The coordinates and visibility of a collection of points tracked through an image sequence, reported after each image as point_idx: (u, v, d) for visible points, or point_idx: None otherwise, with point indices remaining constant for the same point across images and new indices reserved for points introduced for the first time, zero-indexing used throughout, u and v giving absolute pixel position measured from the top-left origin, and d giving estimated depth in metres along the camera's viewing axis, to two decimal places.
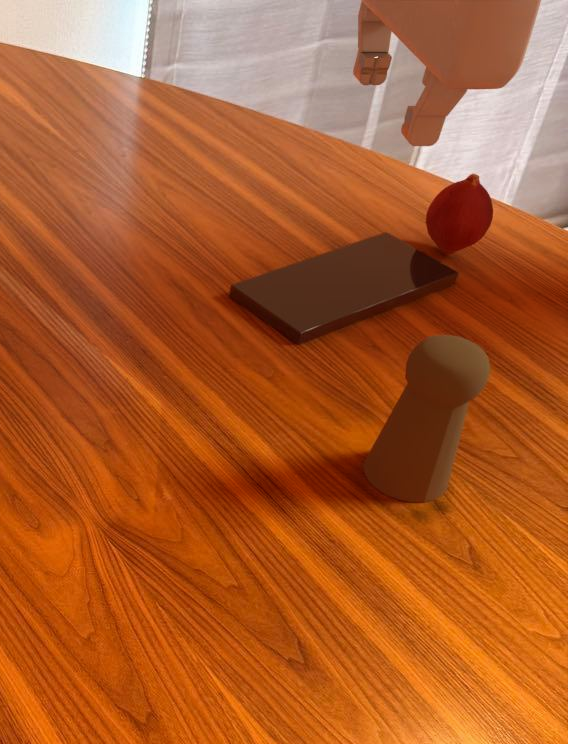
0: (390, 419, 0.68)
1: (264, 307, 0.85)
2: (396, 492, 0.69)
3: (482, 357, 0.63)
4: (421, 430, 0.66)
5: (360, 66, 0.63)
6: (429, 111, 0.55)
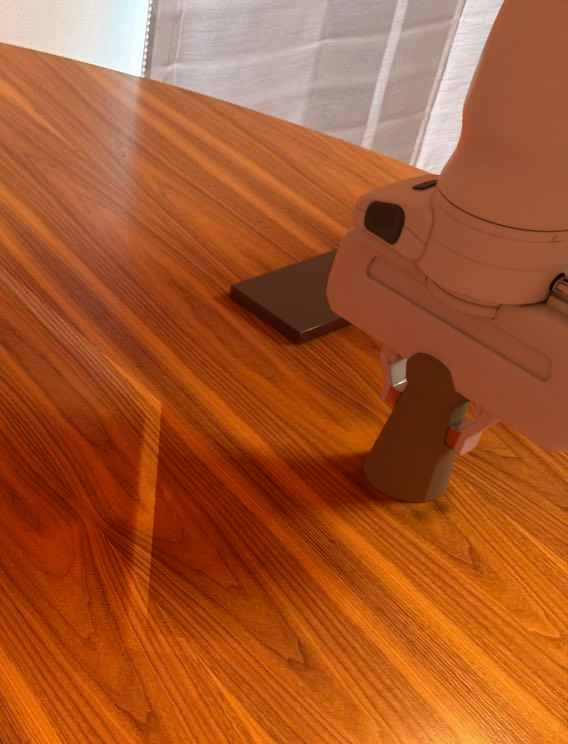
0: (390, 419, 0.68)
1: (264, 307, 0.85)
2: (396, 492, 0.69)
3: None
4: (421, 430, 0.66)
5: (393, 397, 0.68)
6: (477, 432, 0.64)
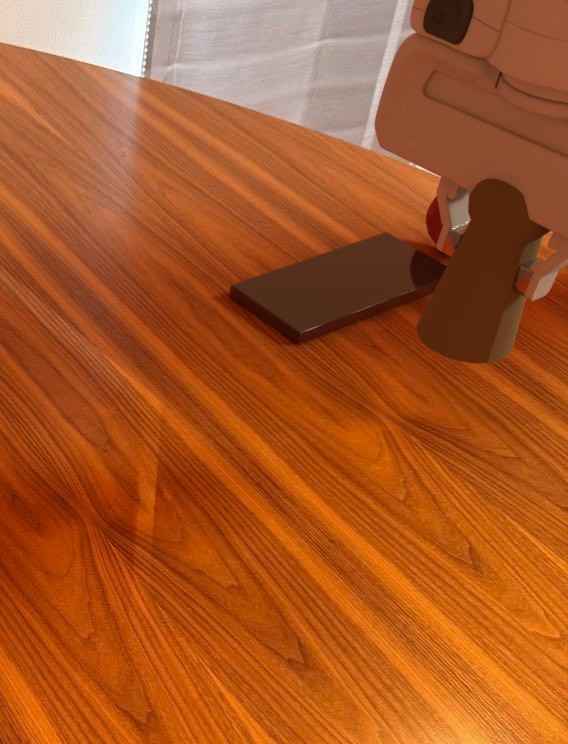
0: (449, 267, 0.60)
1: (264, 307, 0.85)
2: (456, 352, 0.61)
3: None
4: (486, 273, 0.58)
5: (452, 242, 0.60)
6: (553, 270, 0.56)
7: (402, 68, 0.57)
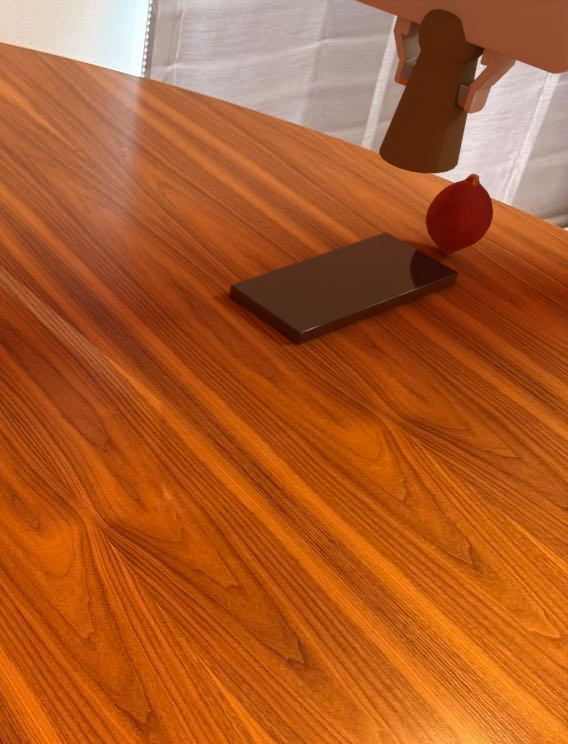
0: (404, 92, 0.74)
1: (264, 307, 0.85)
2: (410, 164, 0.75)
3: None
4: (433, 92, 0.71)
5: (406, 73, 0.74)
6: (485, 84, 0.70)
7: None
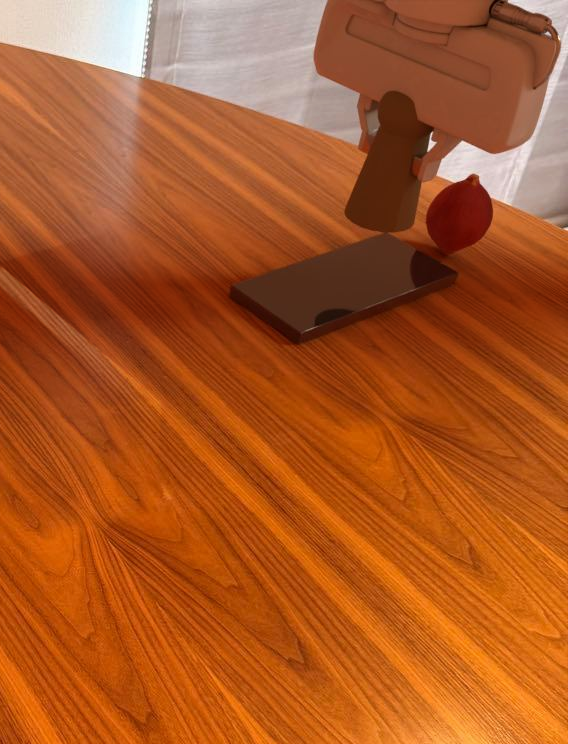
0: (366, 160, 0.82)
1: (264, 307, 0.85)
2: (371, 224, 0.83)
3: None
4: (390, 162, 0.80)
5: (368, 143, 0.83)
6: (436, 158, 0.78)
7: (331, 13, 0.79)
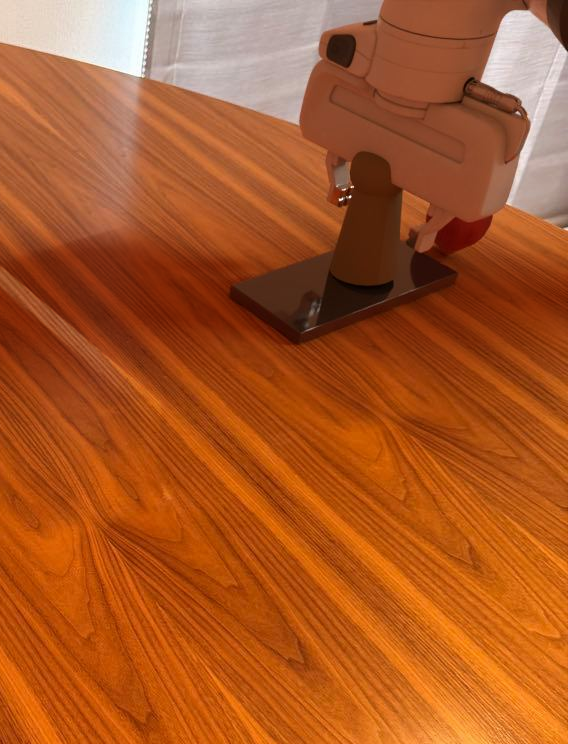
0: (344, 220, 0.86)
1: (264, 307, 0.85)
2: (354, 278, 0.87)
3: None
4: (366, 220, 0.84)
5: (336, 196, 0.88)
6: (432, 230, 0.81)
7: (315, 83, 0.83)
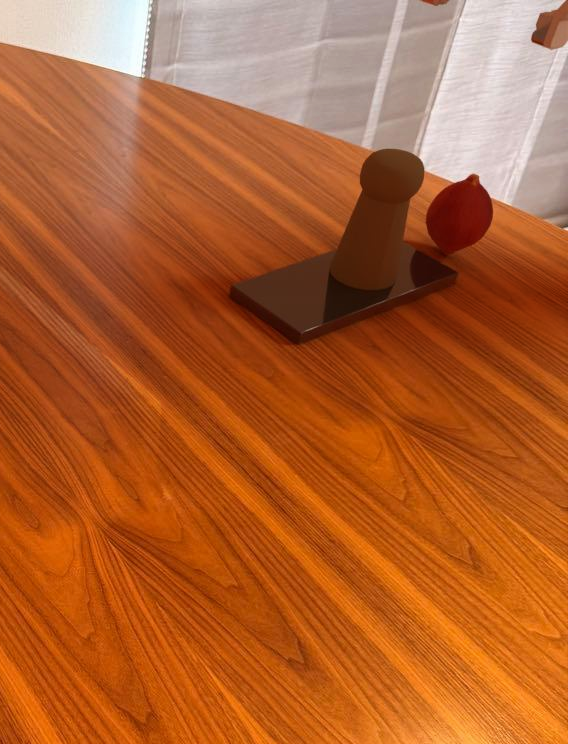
0: (349, 222, 0.86)
1: (264, 307, 0.85)
2: (354, 282, 0.87)
3: (418, 161, 0.81)
4: (372, 225, 0.84)
5: None
6: None
7: None
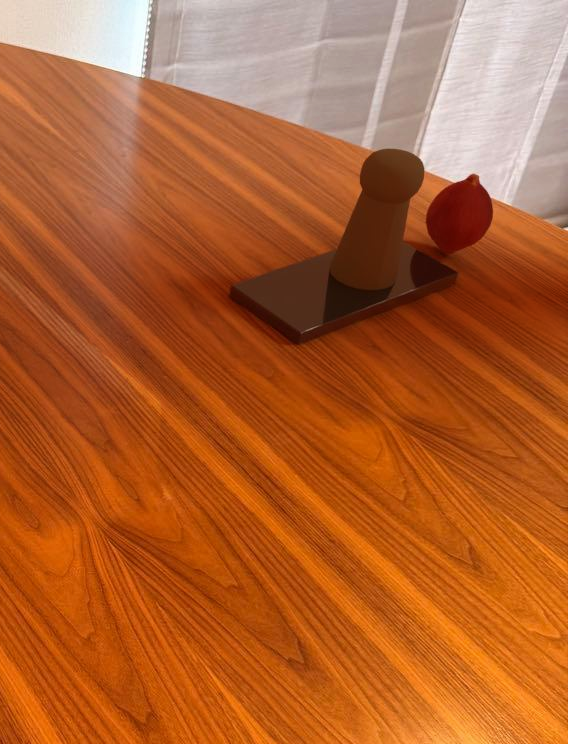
0: (349, 222, 0.86)
1: (264, 307, 0.85)
2: (354, 282, 0.87)
3: (418, 161, 0.81)
4: (372, 225, 0.84)
5: None
6: None
7: None
